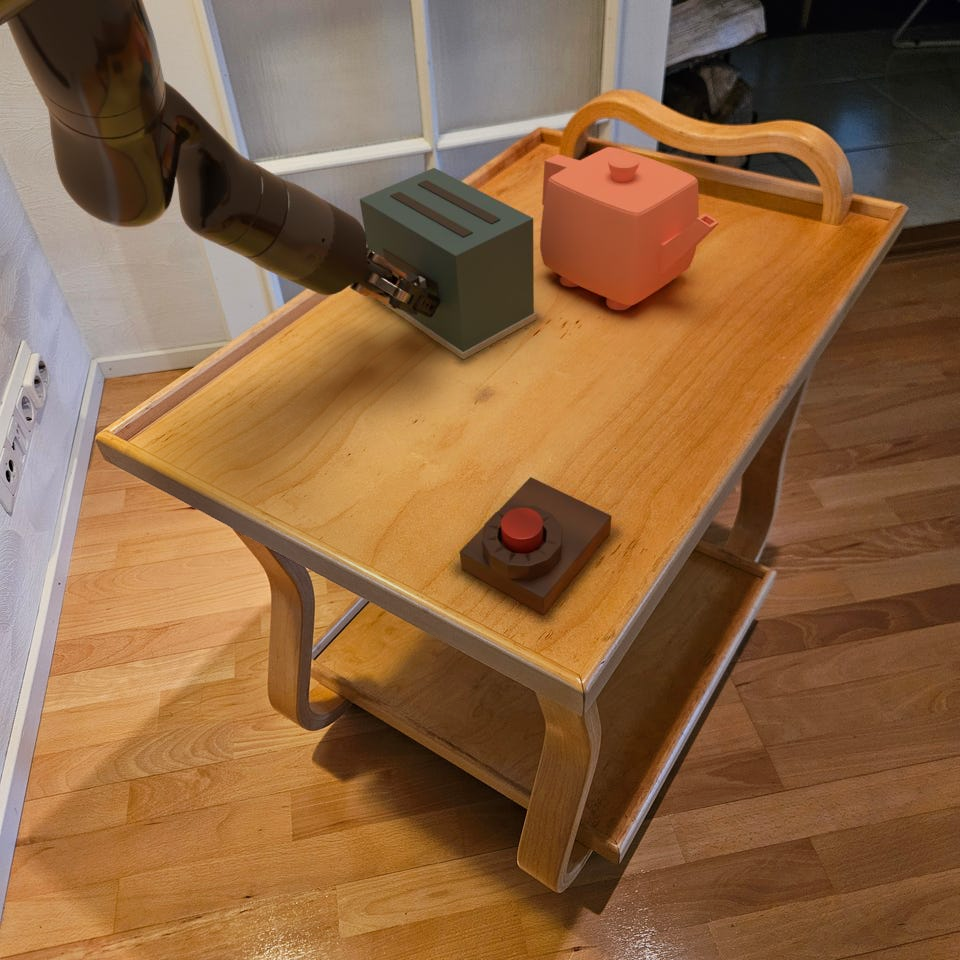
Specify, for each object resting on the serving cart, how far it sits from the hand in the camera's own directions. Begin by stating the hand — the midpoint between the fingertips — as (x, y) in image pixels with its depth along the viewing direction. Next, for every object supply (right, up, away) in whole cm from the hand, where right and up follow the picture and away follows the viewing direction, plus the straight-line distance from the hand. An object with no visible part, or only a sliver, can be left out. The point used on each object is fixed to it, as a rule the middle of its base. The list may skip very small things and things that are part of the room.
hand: (423, 300), depth 85 cm
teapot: (+22, +4, +10) cm, 24 cm away
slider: (-1, 0, -1) cm, 1 cm away
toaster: (+3, +1, +7) cm, 8 cm away
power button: (+9, -23, -21) cm, 33 cm away
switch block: (+10, -24, -18) cm, 32 cm away
